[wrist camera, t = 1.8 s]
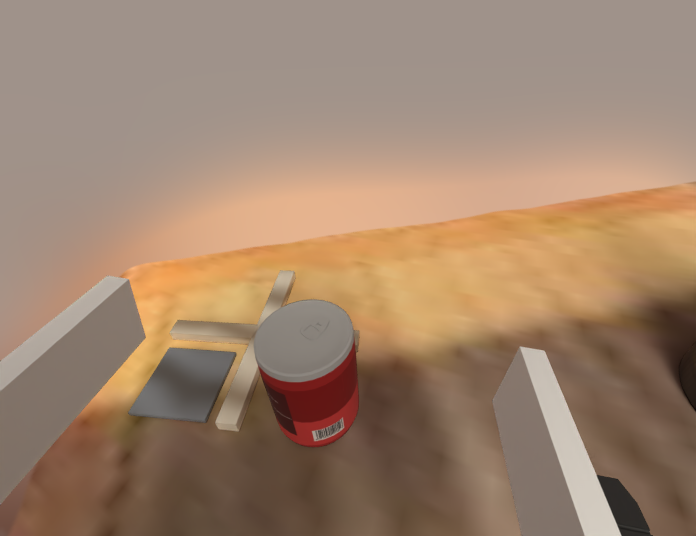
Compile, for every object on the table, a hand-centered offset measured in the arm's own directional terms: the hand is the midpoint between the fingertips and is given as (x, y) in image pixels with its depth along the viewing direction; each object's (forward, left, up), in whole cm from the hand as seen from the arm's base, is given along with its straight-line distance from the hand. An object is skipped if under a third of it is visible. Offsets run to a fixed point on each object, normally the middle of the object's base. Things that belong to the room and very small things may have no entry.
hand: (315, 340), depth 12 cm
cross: (-10, -20, -23) cm, 32 cm away
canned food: (-7, -9, -23) cm, 25 cm away
